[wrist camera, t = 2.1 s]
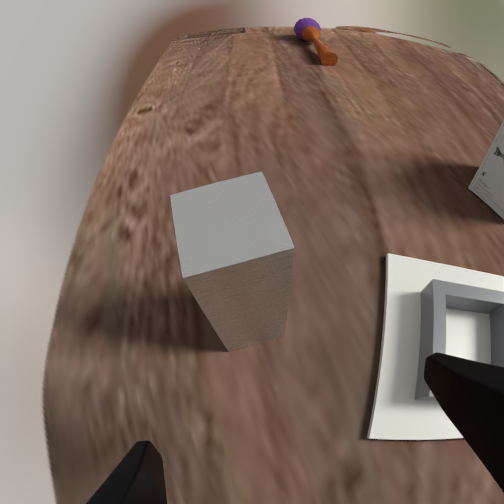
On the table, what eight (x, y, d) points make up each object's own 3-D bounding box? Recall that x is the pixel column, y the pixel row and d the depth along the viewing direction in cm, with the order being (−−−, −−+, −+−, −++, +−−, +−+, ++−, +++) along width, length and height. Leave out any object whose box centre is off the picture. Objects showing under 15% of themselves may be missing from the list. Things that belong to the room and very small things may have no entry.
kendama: (311, 48, 44) (289, 17, 53) (315, 74, 49) (294, 37, 58) (343, 44, 43) (314, 13, 52) (345, 70, 48) (318, 33, 57)
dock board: (508, 431, 16) (532, 428, 13) (364, 437, 19) (380, 440, 15) (507, 283, 24) (526, 267, 20) (384, 259, 26) (396, 238, 23)
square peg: (284, 336, 23) (294, 247, 12) (228, 351, 23) (182, 277, 11) (267, 286, 25) (262, 171, 14) (215, 300, 25) (170, 195, 14)
